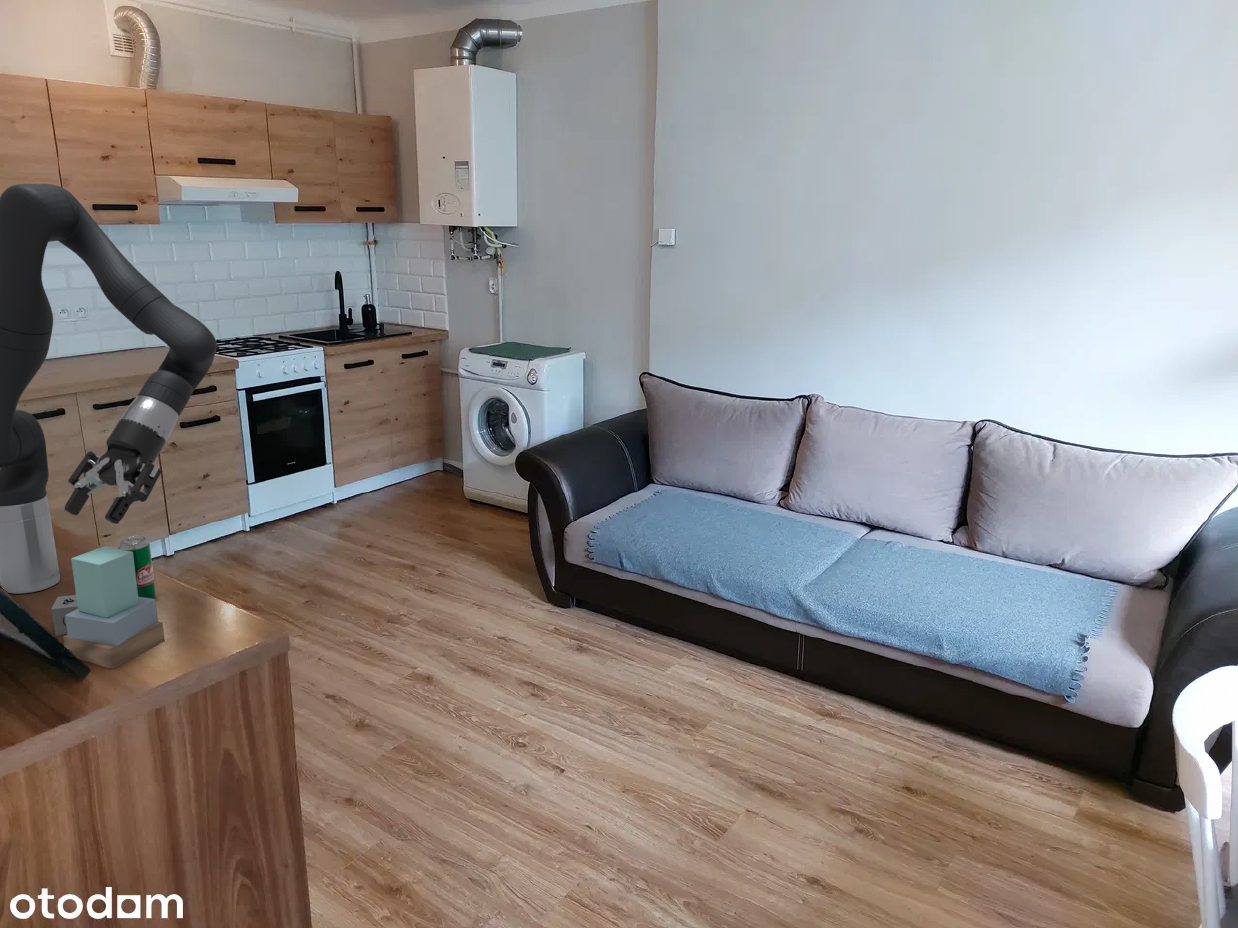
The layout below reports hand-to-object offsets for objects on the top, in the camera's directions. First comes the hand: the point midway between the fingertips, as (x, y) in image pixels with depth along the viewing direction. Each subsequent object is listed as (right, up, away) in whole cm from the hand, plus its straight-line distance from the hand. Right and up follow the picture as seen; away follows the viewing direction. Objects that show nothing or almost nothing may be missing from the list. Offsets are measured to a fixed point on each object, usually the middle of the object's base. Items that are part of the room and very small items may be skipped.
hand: (90, 517), depth 133 cm
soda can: (-6, -17, +24) cm, 30 cm away
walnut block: (0, -23, +8) cm, 24 cm away
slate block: (0, -19, +7) cm, 20 cm away
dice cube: (-11, -20, +14) cm, 27 cm away
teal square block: (0, -15, +5) cm, 16 cm away
